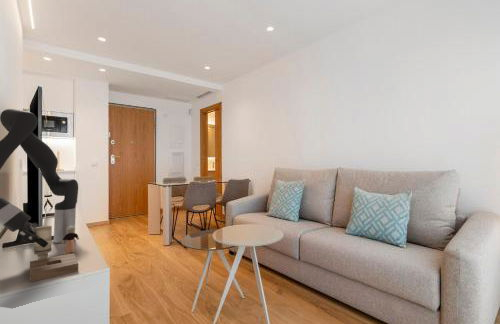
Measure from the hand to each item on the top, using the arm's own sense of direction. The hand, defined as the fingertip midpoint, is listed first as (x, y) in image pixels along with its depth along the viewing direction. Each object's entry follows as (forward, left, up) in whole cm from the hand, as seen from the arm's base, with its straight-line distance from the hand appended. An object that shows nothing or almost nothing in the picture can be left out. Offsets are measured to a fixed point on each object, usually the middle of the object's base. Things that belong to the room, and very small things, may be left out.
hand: (48, 243), depth 105 cm
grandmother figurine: (-6, +8, -8) cm, 13 cm away
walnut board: (+13, +1, -8) cm, 15 cm away
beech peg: (0, -2, -6) cm, 6 cm away
